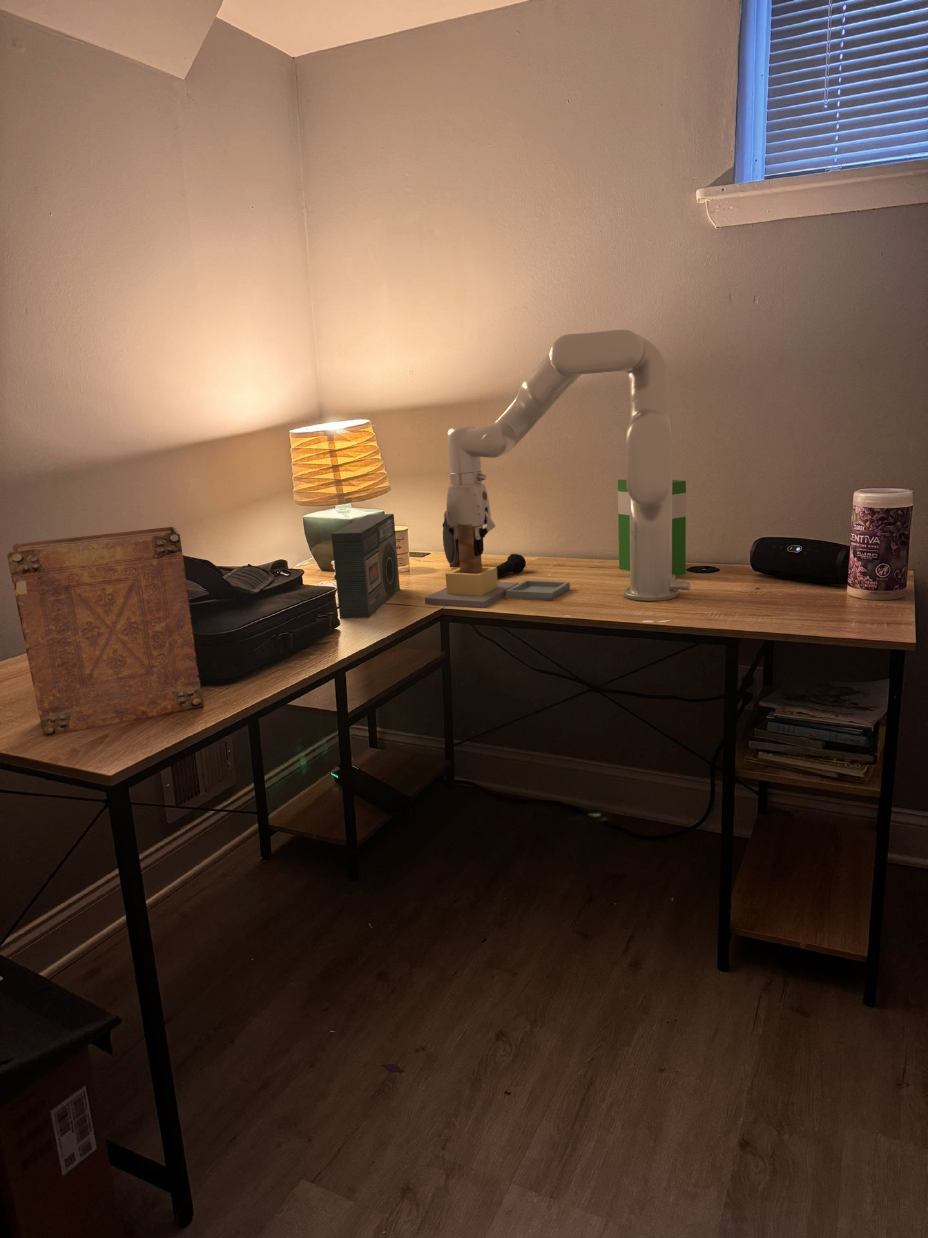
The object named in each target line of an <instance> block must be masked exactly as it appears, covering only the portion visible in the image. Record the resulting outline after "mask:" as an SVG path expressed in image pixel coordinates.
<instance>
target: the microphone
mask: <svg viewBox="0 0 928 1238" xmlns="http://www.w3.org/2000/svg"><path fill="white" fill-rule="evenodd" d="M526 565H527V562H526V559H525V557H524V556H523V555H522V554H518V553H511V554H510V555H509V556H508V557H507V560H505V561H504V562H502V563H500V564H498V565H496V566H495V567H497V579H498V578H501V577H504V576H506V575H509V574H511V573H514V574H521V573H522V572H523V571H524V570H525V568H526Z"/></svg>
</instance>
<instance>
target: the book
mask: <svg viewBox="0 0 928 1238" xmlns="http://www.w3.org/2000/svg"><path fill="white" fill-rule="evenodd" d="M183 555H184V554H183V546H182V541H181V534H180V533H179V531H178V530H177V529H176V527H174V526H168V527H159V528H157V527H156V528H150V529H139V530H132V531H122V532H113V533H103V534H94V535H93V534H92V535H86V536H85V535H83V536H76V537H66V538H57V539H47V540H39V541H38V540H37V541H29V542H19V543H15V544H13V546H12V551H8V553H7V557H6V558H7V561H8V567H9V572H10V575H11V576H10V577H11V580H12V581H11V582H12V587H13V592H14V597H15V601H16V606H17V611H18V617H19V621H20V625H21V632H22V636H23V641H24V646H25V651H26V656H27V660H28V665H29V672H30V675H31V680H32V686H33V691H34V695H35V700H36V705H37V711H38V714H39V721H40V725H41V730H42V735H43V736H44V737H50V736H51V737H52V736H56V735H57V736H58V735H63V734H68V733H73V732H78V731H82V730H83V731H84V730H89V729H94V728H100V727H105V726H111V725H116V724H121V723H126V722H131V721H138V720H142V719H147V718H148V719H149V718H152V717H159V716H165V715H169V714H174V713H179V712H184V711H190V710H196V709H201V708H204V707H205V702H204V696H203V695H204V694H203V688H202V687H203V686H202V681H201V680H202V679H201V675H200V666H199V660H198V652H197V646H196V639H195V638H196V637H195V633H194V632H195V631H194V625H193V616H192V610H191V605H190V597H189V591H188V590H189V589H188V583H187V577H186V576H187V575H186V569H185V562H184V556H183Z"/></svg>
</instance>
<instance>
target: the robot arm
mask: <svg viewBox="0 0 928 1238" xmlns="http://www.w3.org/2000/svg"><path fill="white" fill-rule="evenodd" d="M668 371H669V370H668V367H667V363H666V360H665V358H664V356H663V354H662V353H661V352H660V350H659V349H658V347H657V346H656V345H655V344H654V343H652V342H651V341H650V340H648V339H646V338H644V336H641V335H639V334H637V333H636V332H634V331H631V330H629V329H613V330H605V331H604V330H603V331H594V332H581V333H567V334H563V335H562V336H560V337H558V338H557V339H556V340H555V341H554V342H553V343H552V345H551V347H550V350H549V353H548V354H547V355H546V357H545V358H544V359H543V360H541V362H540V363H539V364H538V365H537V367H536V368H535V369H534V370H532V372H531V373H530V374H529V375H528V377H526V379H524V381H523V382H522V384H521V385H520V387H519V390H518V393H517V394H516V397H515V399H514V400H513V402H512V403H510V405H509V406H508V408H507V409H506V410H505V411H504V412H503V413H502V414H501V416H500V417H499V418H498V419H497V420H496V421H495V422H494V423H492V424H489V425H485V426H480V427H479V426H478V427H476V426H470V425H467V426H455V427H451V428H449V429H448V431H447V449H448V450H447V451H448V464H449V465H448V466H449V467H448V468H449V480H450V481H449V482H450V485H448V486H447V487H448V488H447V494H446V510H447V517H446V519H445V521H444V520H443V523H442V525H441V526H442V528H443V527H444V528H445V529H447V530H448V531H449V532H450V533H451V534H452V535H453V537H454V539H456V550H457V552H458V555H459V546H458V530H457V524H460V525H471V524H472V527H473V528H474V533H475V537H476V540H474V549H475V556H479V555H481V556H482V555H483V554H484V553H483V552H484V550H485V548H484V538H486V535H488V533H489V532H490V531H491V530H493V529H494V528H496V524H495V522H494V520H493V519H492V515H491V505H490V500H489V494H488V490H487V487H486V484H485V483H483V481H486V480H487V475H486V474H483V472H482V465H481V464H482V463H481V458H491V459H494V458H499V457H502V456H503V455H505V454H508V453H509V452H511V451H512V450H513V449H514V448H515V447H516V446H517V444H518V443H519V442H521V440H522V439H523V438H524V437H525V436H526V435H527V434H528V433H529V432H530V431H531V429H533V427H534V426H536V424H537V423H538V421H540V419H542V417H543V416H545V415H546V414H547V412H549V410H550V409H551V408H552V406H554V405H555V404H556V402H557V401H559V399H560V398H561V397H562V396H563V394H565V392H566V391H567V390H568V389H569V388H570V387H571V386H572V385H573V384H574V383H575V382H576V381H577V380H578V379H579V378H580V376H581V375H589V374H600V373H601V374H602V373H616V372H624V373H626V375H627V377H628V380H629V399H630V419H629V421H630V422H629V424H628V425H627V428H626V431H625V432H626V434H625V436H626V437H625V453H626V454H625V455H626V457H625V459H626V465H625V466H626V467H625V468H626V480H627V490H628V493H629V495H630V571H629V572H630V573H629V575H630V578H629V579H630V584H629V585H630V586H629V587H626V588H625V589H624V590H623V596H624V598H627V599H629V600H633V601H634V600H635V601H640V602H641V601H643V602H656V601H657V602H659V601H666V600H667V601H668V600H671V599H675V598H677V596H679V591H690V590H691V581H688V580H678V579H676V576H675V575H672V480H673V475H672V426H671V417H670V413H671V412H670V386H669V385H670V384H669V379H670V378H669V372H668ZM446 510H445V511H446ZM484 526H485V527H484Z"/></svg>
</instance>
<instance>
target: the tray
mask: <svg viewBox="0 0 928 1238" xmlns="http://www.w3.org/2000/svg"><path fill="white" fill-rule="evenodd" d="M570 583H571V582H569V581H553V580H535V579H534V580H533V579H532V580H530V579H525V580H522V581H521V582H518V584H517V585H515V586H513V587H511V588H510V589H508V590H506V596H505V598H506V599H517V600H518V599H521V600H533V601H535V600H539V601H551V602H552V601H554V600H556V599H557V598H559V597H560V596H562V595H563V594H564V593H566V592H567V591H570V589H571V584H570Z"/></svg>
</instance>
